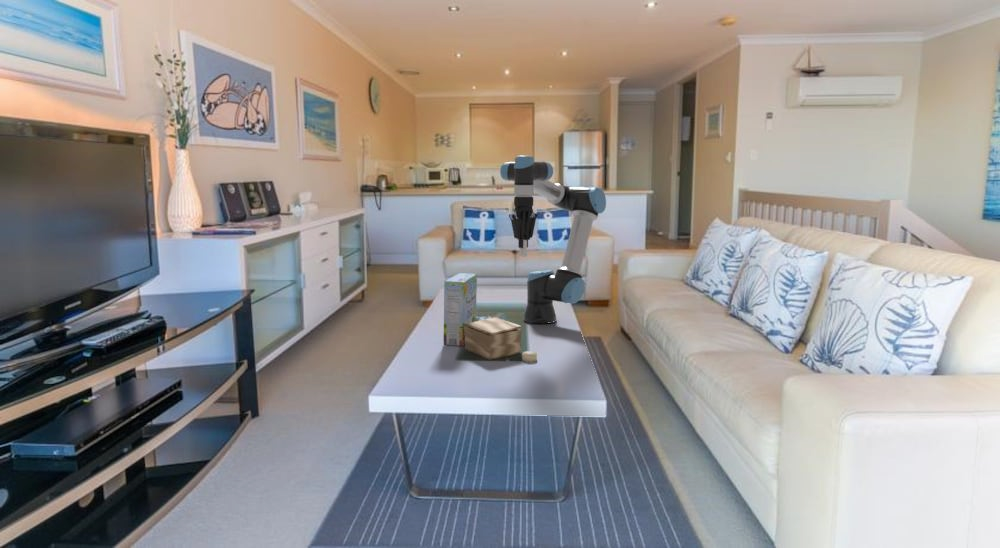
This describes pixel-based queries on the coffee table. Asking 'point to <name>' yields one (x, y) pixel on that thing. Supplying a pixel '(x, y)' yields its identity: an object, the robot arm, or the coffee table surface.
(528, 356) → the cream domed disc
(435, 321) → the coffee table surface
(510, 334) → the tan open box
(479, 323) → the lid
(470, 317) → the snack box
